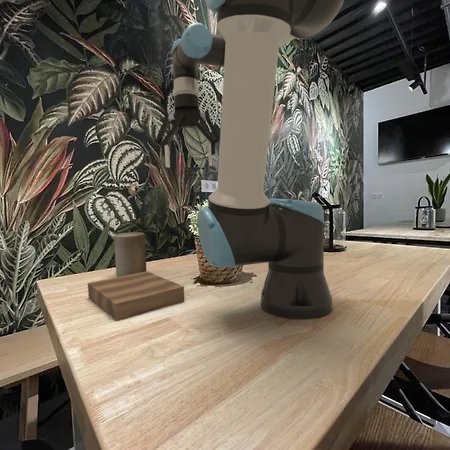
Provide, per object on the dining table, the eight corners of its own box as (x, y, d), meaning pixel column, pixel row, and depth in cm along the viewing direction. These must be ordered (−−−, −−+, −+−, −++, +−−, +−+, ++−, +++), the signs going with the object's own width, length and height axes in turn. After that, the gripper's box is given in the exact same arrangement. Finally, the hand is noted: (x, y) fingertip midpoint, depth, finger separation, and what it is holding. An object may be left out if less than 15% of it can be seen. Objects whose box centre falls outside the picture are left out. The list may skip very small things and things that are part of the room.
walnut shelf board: (184, 302, 68) (183, 286, 67) (116, 323, 57) (115, 304, 57) (147, 284, 83) (146, 271, 83) (88, 298, 73) (87, 283, 72)
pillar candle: (151, 271, 99) (148, 228, 97) (140, 279, 89) (137, 231, 88) (124, 271, 100) (121, 228, 98) (110, 279, 90) (107, 232, 88)
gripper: (227, 98, 91) (229, 166, 93) (150, 102, 92) (153, 168, 94) (226, 90, 84) (228, 163, 86) (142, 93, 85) (146, 166, 87)
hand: (189, 166), depth 90 cm, fingers open, 13 cm apart
